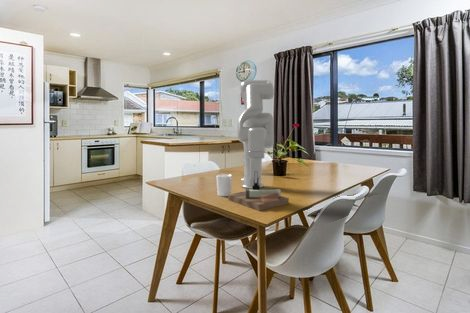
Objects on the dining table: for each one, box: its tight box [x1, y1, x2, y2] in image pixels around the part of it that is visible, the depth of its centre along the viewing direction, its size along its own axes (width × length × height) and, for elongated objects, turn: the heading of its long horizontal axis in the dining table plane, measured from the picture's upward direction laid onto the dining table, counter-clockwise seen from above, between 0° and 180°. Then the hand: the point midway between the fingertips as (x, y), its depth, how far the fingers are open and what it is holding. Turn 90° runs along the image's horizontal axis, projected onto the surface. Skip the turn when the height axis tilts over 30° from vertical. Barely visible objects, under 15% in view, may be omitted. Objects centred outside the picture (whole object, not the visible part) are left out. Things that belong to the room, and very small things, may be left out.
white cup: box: [215, 173, 233, 197], centre depth 145 cm, size 8×8×10 cm
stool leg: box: [245, 188, 282, 198], centre depth 130 cm, size 16×3×3 cm, turn 90°
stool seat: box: [227, 190, 290, 211], centre depth 132 cm, size 22×18×6 cm
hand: (256, 193), depth 134 cm, fingers closed
